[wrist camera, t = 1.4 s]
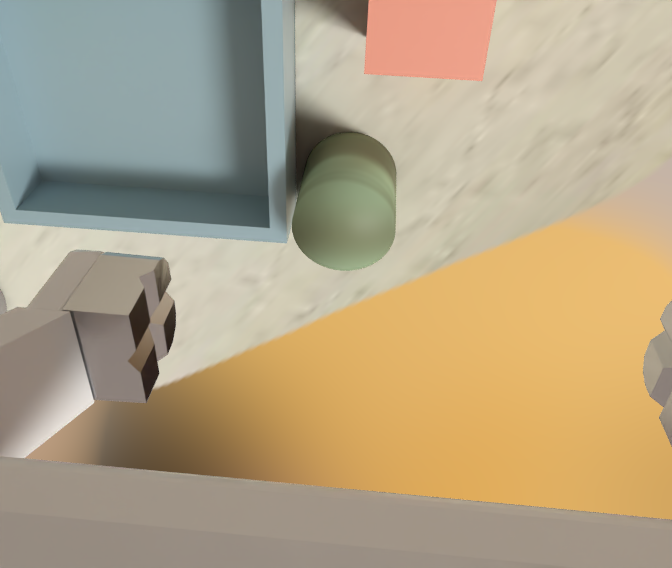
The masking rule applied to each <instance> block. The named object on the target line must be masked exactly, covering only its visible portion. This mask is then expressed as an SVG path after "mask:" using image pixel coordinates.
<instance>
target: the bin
mask: <svg viewBox="0 0 672 568" xmlns="http://www.w3.org/2000/svg"><path fill="white" fill-rule="evenodd" d="M295 206H296V101H295V0H0V212H1V215H2V217H3V220H4V223H14V224H28V225H41V226H55V227H69V228H83V229H97V230H111V231H124V232H138V233H152V234H166V235H180V236H193V237H207V238H221V239H235V240H249V241H263V242H276V243H287V241H288V237H289V233H290V229H291V225H292V218H293V214H294V210H295Z"/></svg>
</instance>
